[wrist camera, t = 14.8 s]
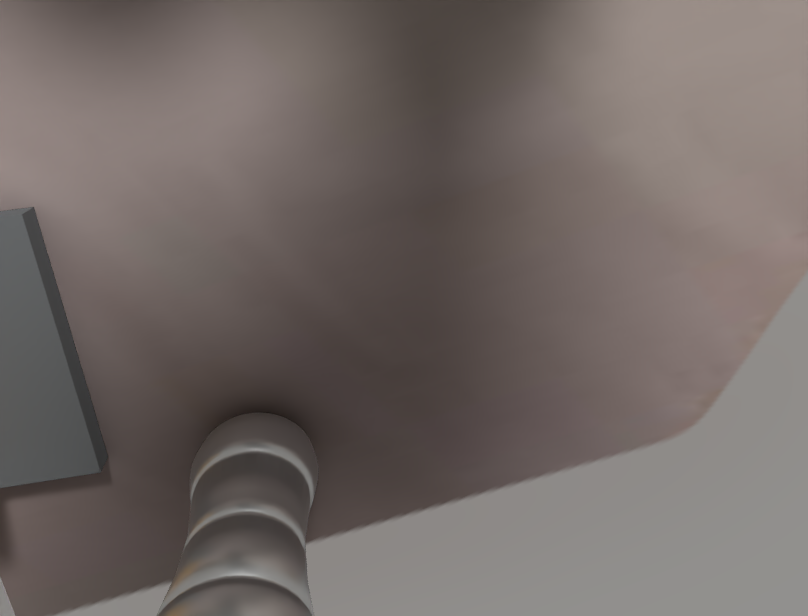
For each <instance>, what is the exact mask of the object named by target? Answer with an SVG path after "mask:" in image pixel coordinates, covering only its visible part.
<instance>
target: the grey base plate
mask: <svg viewBox="0 0 808 616" xmlns="http://www.w3.org/2000/svg"><path fill="white" fill-rule="evenodd" d="M107 458H108V455H107V452H106V449H105V445H104V442H103V439H102V435H101V432H100V429H99V425H98V422H97V418H96V415H95V412H94V408H93V405H92V402H91V398H90V395H89V392H88V388H87V385H86V382H85V378H84V375H83V371H82V368H81V365H80V361H79V358H78V355H77V351H76V348H75V345H74V341H73V338H72V335H71V331H70V328H69V324H68V321H67V318H66V314H65V311H64V308H63V304H62V301H61V298H60V294H59V291H58V288H57V284H56V281H55V277H54V274H53V271H52V267H51V264H50V261H49V257H48V254H47V251H46V247H45V244H44V241H43V237H42V234H41V230H40V227H39V224H38V220H37V217H36V214H35V210H34V207H30V208H23V209H15V210H7V211H0V488H4V487H11V486H17V485H23V484H30V483H36V482H43V481H49V480H55V479H62V478H68V477H75V476H81V475H87V474H94V473H100V472H101V471H102V469H103V466H104V464H105V462H106V460H107Z"/></svg>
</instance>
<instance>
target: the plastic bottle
mask: <svg viewBox="0 0 808 616" xmlns="http://www.w3.org/2000/svg"><path fill="white" fill-rule="evenodd" d="M318 472H319V468H318V463H317V458H316V455H315V452H314V449H313V446H312V444H311V441H310V439H309V437H308V436H307V435H306V433H305V432H304V431H303V429H301V428H300V427H299V426H298V425H297V424H295V423H294V422H292V421H290V420H289V419H287V418H285V417H282V416H279V415H276V414H270V413H248V414H243V415H239V416H236V417H233V418H231V419H228V420H227V421H225V422H223V423H222V424H220V425H219V426H217V427H216V428H215V429H214V430H213V431H212V432H211V433H210V434H209V435H208V437H207V438H206V439H205V441H204V442H203V444H202V445H201V447H200V449H199V450H198V452H197V454H196V456H195V458H194V460H193V462H192V467H191V472H190V504H191V509H190V517H189V526H188V534H187V539H186V542H185V546H184V549H183V553H182V555H181V558H180V561H179V564H178V567H177V570H176V573H175V576H174V579H173V581H172V584H171V586H170V588H169V590H168V592H167V595H166V596H165V599H164V601H163V603H162V605H161V607H160V609H159V612H158V614H157V616H314V613H313V607H312V602H311V597H310V592H309V587H308V580H307V563H306V548H305V547H306V546H305V540H306V533H307V525H308V518H309V511H310V508H311V506H312V503H313V499H314V496H315V492H316V487H317V482H318Z"/></svg>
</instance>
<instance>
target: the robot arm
mask: <svg viewBox="0 0 808 616" xmlns="http://www.w3.org/2000/svg"><path fill="white" fill-rule="evenodd" d="M0 616H15V613H14V611H13V608H12V606H11V603H10V601H9V598H8V595H7V593H6V590H5V588H4V585H3V583H2V580H1V578H0Z"/></svg>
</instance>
